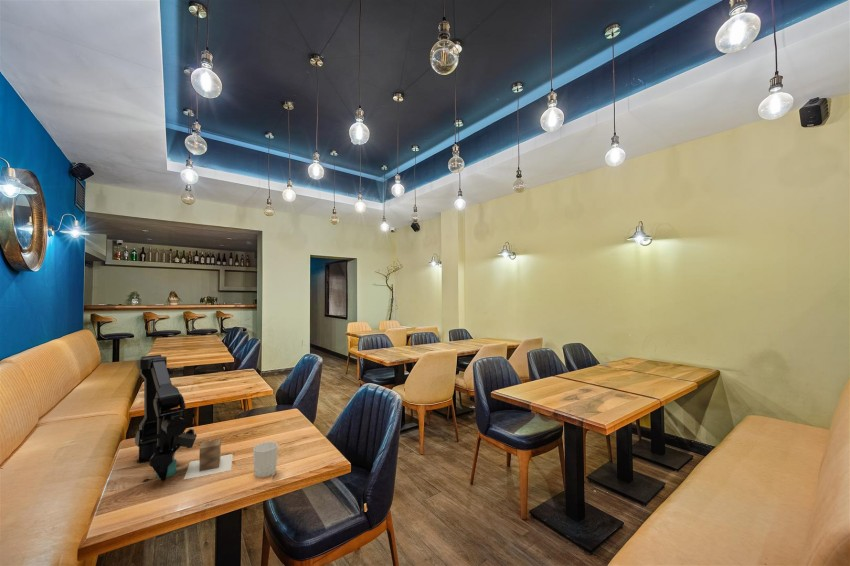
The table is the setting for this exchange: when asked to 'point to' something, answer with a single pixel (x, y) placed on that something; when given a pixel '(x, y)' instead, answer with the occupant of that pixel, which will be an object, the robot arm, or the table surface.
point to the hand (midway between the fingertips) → (166, 473)
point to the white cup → (265, 459)
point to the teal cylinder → (171, 469)
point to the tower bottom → (209, 463)
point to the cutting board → (194, 469)
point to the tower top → (210, 449)
